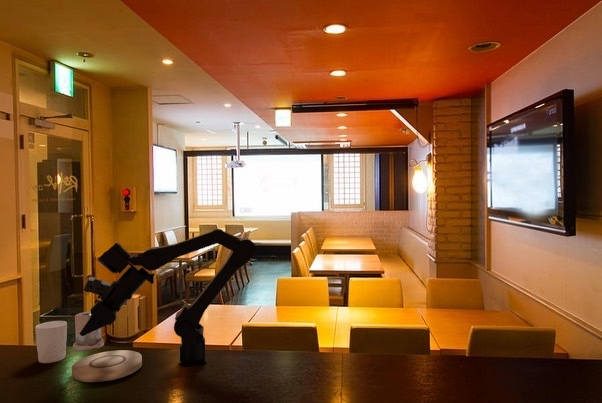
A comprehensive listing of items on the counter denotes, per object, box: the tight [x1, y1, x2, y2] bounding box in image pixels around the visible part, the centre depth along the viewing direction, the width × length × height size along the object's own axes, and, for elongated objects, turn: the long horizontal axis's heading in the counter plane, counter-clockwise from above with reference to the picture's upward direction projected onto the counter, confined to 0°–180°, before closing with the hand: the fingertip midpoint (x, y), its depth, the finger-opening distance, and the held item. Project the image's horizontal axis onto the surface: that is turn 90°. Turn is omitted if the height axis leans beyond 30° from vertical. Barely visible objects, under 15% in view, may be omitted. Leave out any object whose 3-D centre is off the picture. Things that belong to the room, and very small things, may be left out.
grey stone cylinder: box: [72, 311, 105, 352], centre depth 114 cm, size 7×7×8 cm
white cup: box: [34, 320, 68, 364], centre depth 125 cm, size 8×8×10 cm
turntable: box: [71, 349, 143, 383], centre depth 116 cm, size 17×17×2 cm
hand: (82, 331), depth 114 cm, fingers closed on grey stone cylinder, 6 cm apart
